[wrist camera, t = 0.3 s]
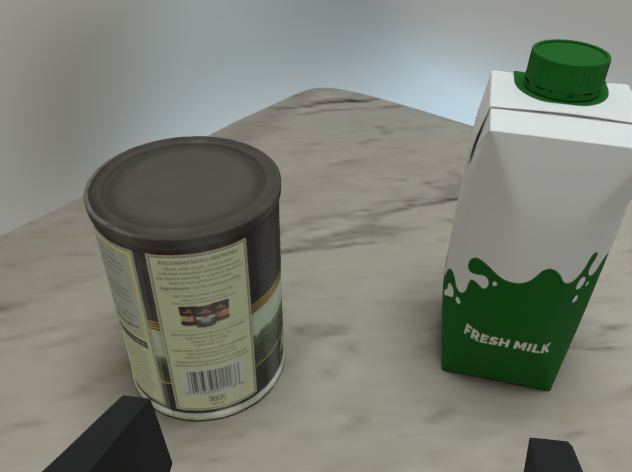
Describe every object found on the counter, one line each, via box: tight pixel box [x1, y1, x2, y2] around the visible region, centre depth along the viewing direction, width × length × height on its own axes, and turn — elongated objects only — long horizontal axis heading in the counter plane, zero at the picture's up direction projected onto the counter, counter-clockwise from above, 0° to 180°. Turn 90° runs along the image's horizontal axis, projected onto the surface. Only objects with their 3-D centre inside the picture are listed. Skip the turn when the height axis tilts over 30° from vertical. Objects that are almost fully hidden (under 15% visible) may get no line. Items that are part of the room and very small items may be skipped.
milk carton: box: [442, 39, 632, 391], centre depth 35 cm, size 9×9×20 cm
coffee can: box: [84, 136, 285, 421], centre depth 36 cm, size 10×10×14 cm
